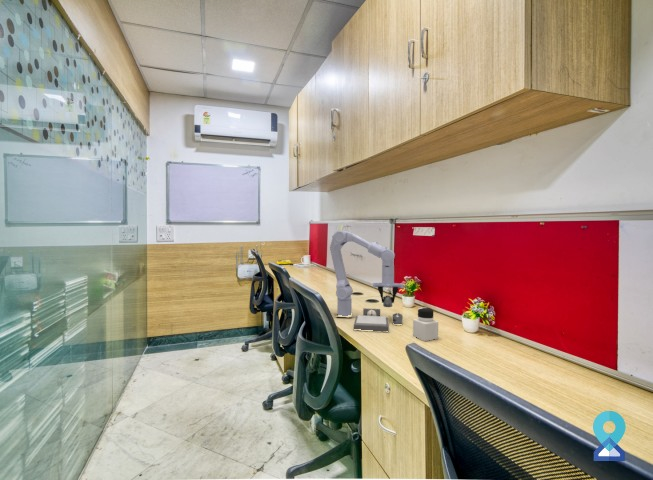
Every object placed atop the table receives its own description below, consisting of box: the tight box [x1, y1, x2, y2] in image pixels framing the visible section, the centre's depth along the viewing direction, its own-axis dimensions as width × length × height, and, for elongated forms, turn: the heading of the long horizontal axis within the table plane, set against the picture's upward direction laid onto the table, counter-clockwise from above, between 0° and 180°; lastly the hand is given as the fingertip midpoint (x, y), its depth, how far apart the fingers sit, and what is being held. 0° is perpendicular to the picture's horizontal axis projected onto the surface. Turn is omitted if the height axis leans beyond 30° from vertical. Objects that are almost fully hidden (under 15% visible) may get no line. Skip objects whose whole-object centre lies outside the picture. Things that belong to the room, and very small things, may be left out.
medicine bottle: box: [412, 307, 439, 342], centre depth 128 cm, size 7×7×12 cm
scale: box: [353, 307, 390, 333], centre depth 144 cm, size 17×15×6 cm
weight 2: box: [392, 312, 403, 325], centre depth 147 cm, size 4×4×5 cm
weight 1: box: [382, 295, 393, 308], centre depth 153 cm, size 4×4×5 cm
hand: (387, 302), depth 153 cm, fingers closed on weight 1, 4 cm apart
